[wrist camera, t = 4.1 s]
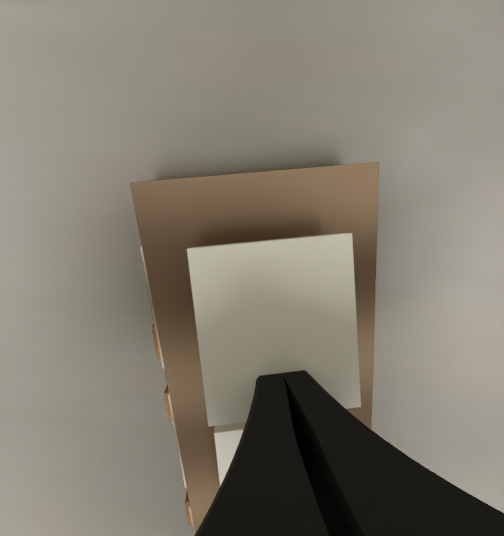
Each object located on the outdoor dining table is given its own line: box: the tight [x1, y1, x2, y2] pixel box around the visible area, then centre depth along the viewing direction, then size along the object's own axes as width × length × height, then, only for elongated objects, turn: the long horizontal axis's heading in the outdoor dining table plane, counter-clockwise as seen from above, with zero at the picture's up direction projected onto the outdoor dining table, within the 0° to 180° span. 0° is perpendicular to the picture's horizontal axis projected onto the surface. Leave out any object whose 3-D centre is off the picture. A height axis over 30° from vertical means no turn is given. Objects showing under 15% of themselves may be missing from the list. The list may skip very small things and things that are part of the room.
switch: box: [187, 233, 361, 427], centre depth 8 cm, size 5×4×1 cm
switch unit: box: [130, 162, 379, 535], centre depth 13 cm, size 21×8×4 cm, turn 5°
